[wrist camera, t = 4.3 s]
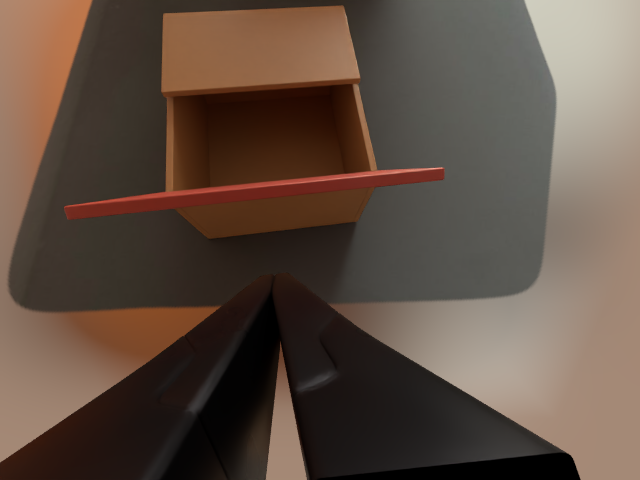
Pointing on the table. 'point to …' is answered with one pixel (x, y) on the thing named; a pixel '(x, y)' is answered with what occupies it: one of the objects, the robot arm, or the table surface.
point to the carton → (264, 114)
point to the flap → (252, 192)
